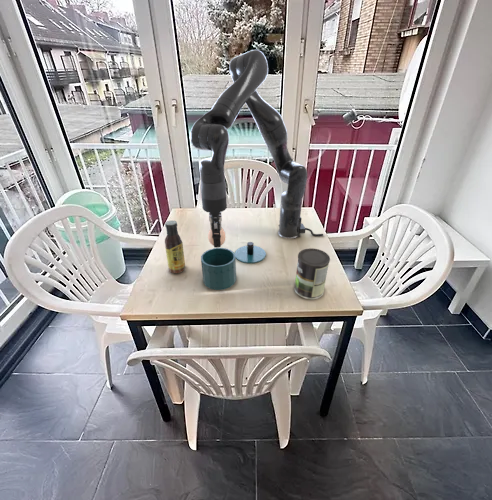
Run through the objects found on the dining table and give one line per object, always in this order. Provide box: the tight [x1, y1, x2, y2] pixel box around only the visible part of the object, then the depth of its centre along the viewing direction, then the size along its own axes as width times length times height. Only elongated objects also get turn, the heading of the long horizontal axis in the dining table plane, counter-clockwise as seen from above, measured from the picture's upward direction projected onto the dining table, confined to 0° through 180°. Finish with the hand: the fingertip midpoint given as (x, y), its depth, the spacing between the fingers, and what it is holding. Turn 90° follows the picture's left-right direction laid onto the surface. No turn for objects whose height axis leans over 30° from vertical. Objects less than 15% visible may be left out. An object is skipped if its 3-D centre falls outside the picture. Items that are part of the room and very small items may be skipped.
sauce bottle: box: [164, 220, 186, 274], centre depth 105 cm, size 7×6×20 cm
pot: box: [200, 247, 237, 291], centre depth 101 cm, size 12×12×10 cm
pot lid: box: [234, 241, 267, 264], centre depth 117 cm, size 13×13×6 cm
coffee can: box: [294, 247, 331, 300], centre depth 96 cm, size 10×10×14 cm
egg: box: [207, 226, 227, 247], centre depth 94 cm, size 6×6×8 cm
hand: (217, 241), depth 95 cm, fingers closed on egg, 5 cm apart
